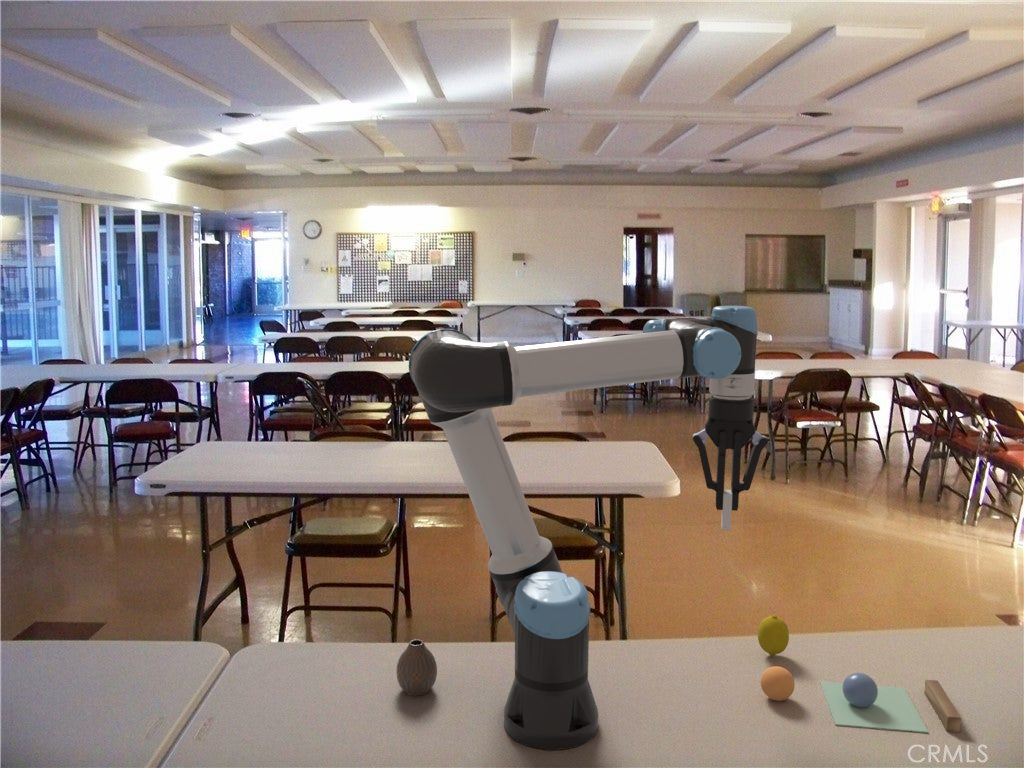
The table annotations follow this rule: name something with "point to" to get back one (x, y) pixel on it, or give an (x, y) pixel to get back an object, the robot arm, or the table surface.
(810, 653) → the table surface
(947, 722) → the rail
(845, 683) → the ball
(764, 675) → the ball
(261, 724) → the table surface
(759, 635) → the lemon
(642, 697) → the table surface
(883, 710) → the mark
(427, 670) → the vase
